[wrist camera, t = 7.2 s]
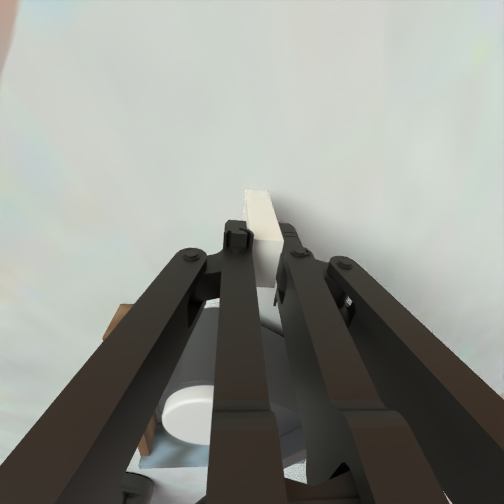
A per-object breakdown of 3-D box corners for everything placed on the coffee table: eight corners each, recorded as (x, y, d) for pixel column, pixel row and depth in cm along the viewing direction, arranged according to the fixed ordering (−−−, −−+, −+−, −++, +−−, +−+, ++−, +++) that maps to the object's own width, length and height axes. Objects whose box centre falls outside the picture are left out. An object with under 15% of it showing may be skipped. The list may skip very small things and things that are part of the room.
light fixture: (223, 272, 24) (209, 380, 15) (313, 334, 29) (346, 446, 19) (162, 331, 28) (120, 446, 19) (250, 377, 33) (251, 488, 23)
